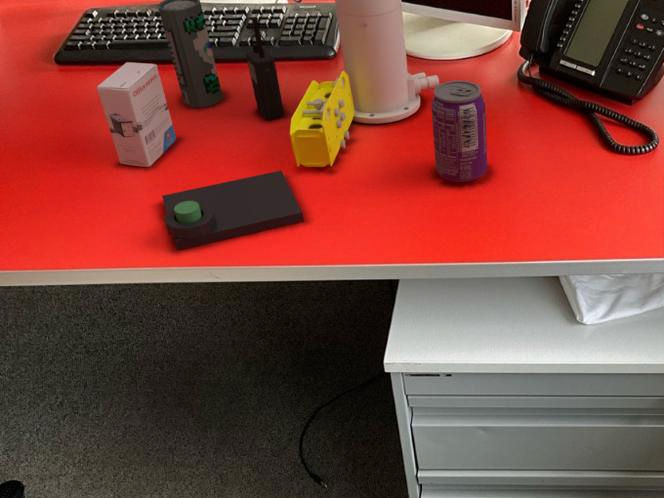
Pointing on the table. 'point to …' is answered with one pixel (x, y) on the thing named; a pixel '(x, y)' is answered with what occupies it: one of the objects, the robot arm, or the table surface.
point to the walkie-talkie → (264, 79)
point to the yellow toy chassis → (322, 122)
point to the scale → (233, 209)
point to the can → (191, 52)
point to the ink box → (137, 113)
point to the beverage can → (459, 131)
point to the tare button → (187, 212)
